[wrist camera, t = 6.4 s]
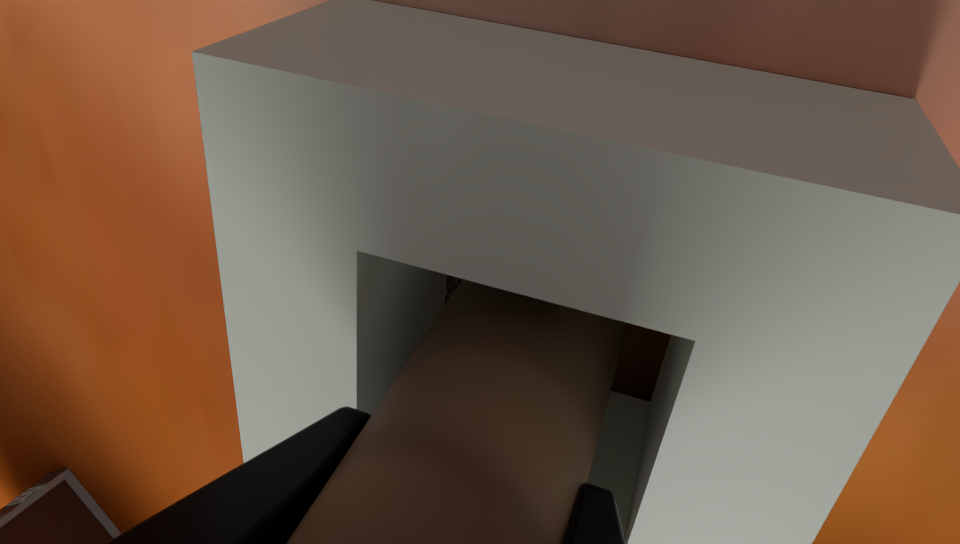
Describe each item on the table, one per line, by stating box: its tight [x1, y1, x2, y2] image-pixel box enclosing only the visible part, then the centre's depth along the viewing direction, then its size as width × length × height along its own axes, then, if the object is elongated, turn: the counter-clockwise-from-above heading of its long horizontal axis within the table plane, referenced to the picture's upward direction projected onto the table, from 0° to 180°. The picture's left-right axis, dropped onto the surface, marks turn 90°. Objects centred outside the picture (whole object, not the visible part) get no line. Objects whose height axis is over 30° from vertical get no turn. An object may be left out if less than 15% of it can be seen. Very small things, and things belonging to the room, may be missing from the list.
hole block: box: [192, 0, 960, 544], centre depth 14 cm, size 18×9×4 cm, turn 174°
